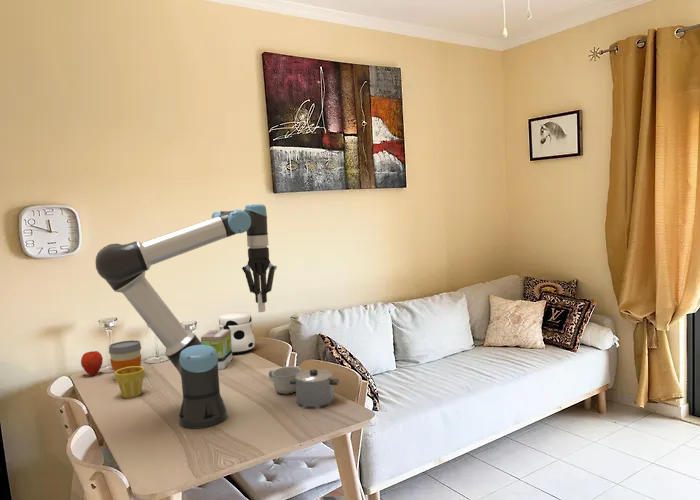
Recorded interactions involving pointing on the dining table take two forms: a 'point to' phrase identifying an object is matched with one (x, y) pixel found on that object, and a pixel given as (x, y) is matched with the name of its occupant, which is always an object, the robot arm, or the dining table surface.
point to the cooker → (315, 393)
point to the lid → (313, 375)
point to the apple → (91, 362)
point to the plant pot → (130, 380)
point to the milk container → (238, 330)
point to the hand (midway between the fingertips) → (261, 311)
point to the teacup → (284, 378)
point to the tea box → (219, 345)
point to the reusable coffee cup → (125, 354)
